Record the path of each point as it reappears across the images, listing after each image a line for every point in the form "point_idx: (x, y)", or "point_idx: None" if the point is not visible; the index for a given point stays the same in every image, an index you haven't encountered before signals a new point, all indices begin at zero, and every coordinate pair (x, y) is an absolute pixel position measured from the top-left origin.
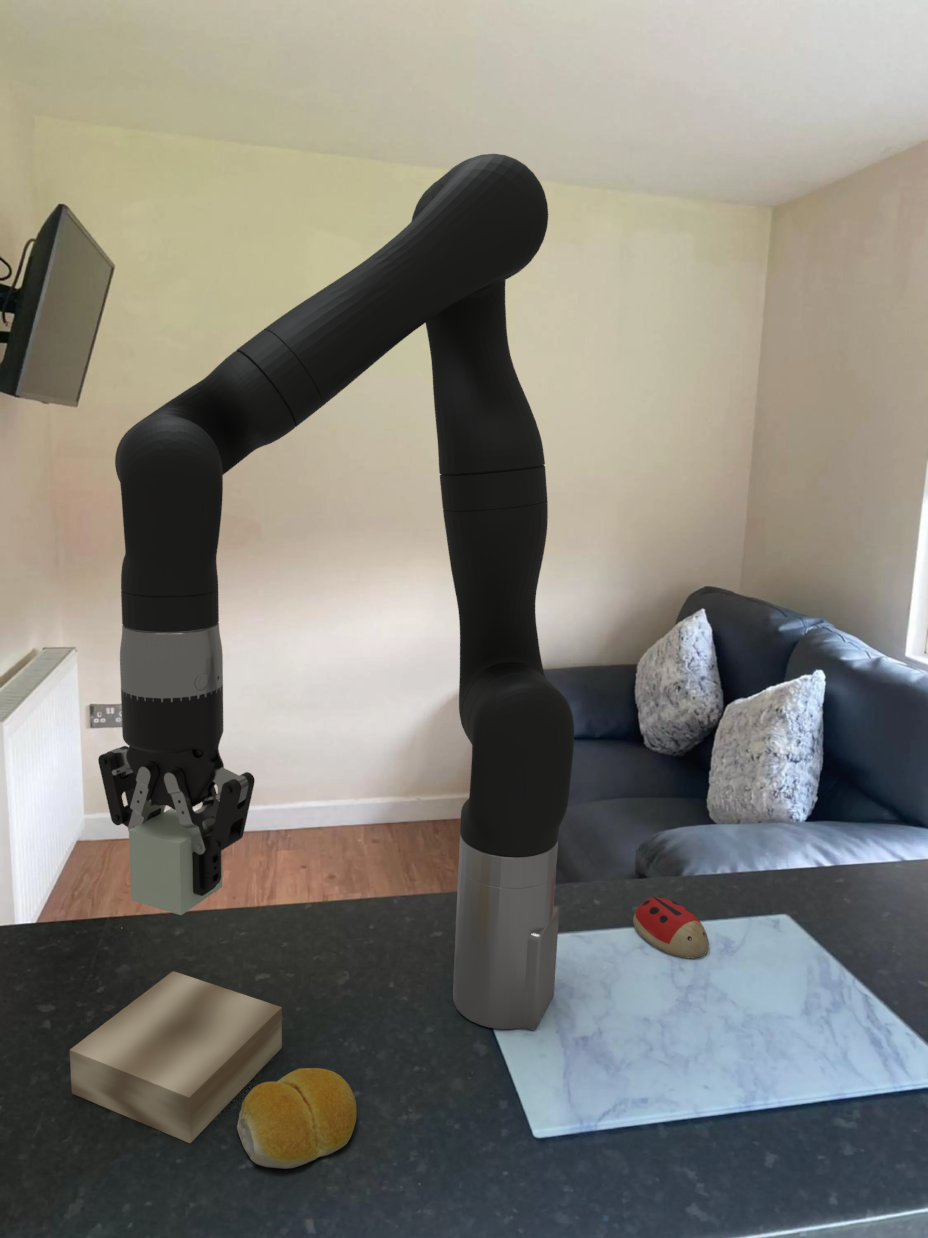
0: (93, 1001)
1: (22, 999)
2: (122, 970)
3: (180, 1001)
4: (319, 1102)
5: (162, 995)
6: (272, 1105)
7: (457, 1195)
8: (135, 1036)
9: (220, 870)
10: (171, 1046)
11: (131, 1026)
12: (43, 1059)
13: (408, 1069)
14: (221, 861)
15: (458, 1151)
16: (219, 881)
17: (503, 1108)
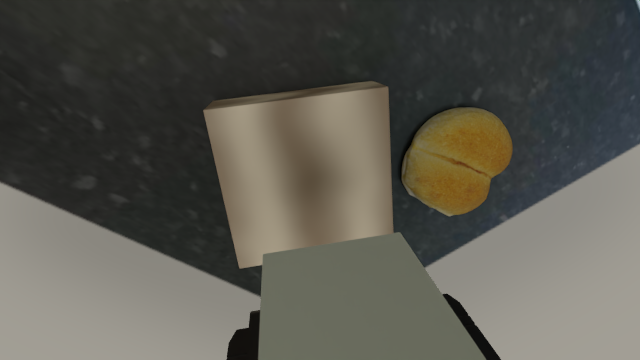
0: (116, 144)
1: (45, 189)
2: (75, 78)
3: (269, 151)
4: (494, 168)
5: (239, 155)
6: (462, 202)
7: (599, 139)
8: (278, 219)
9: (469, 318)
10: (324, 208)
11: (260, 213)
12: (174, 230)
13: (514, 28)
14: (425, 271)
15: (590, 99)
16: (450, 296)
17: (621, 24)
